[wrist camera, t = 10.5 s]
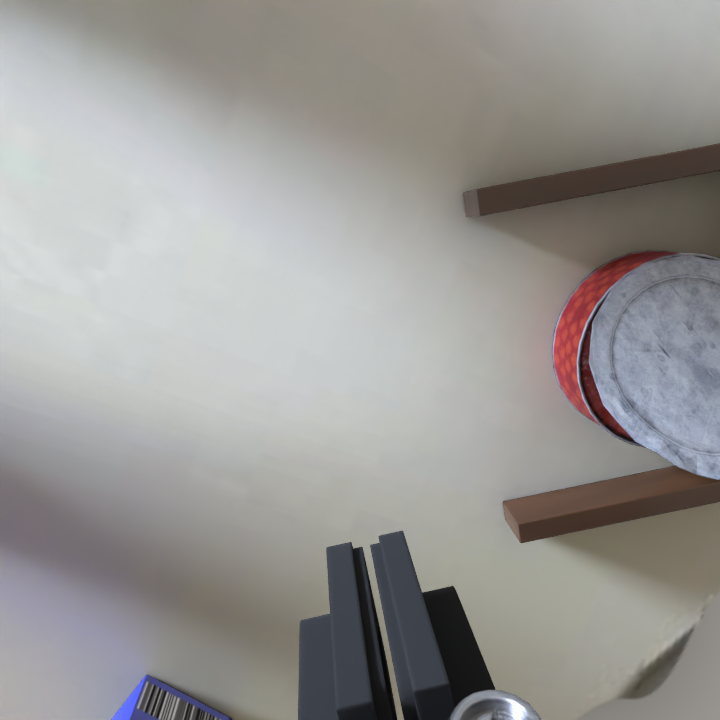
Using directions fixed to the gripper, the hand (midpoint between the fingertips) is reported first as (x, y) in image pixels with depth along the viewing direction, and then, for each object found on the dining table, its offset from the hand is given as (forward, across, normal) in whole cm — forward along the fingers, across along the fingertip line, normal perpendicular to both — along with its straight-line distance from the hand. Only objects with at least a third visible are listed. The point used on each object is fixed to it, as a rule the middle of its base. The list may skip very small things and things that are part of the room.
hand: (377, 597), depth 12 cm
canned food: (+18, -16, +2) cm, 24 cm away
